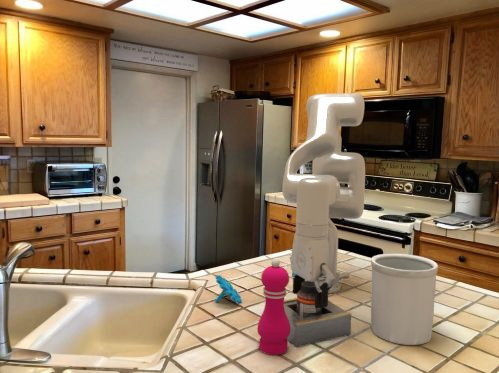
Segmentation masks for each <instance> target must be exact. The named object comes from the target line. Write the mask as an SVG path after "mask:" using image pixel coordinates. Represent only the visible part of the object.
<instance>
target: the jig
mask: <svg viewBox="0 0 499 373" xmlns="http://www.w3.org/2000/svg"><path fill="white" fill-rule="evenodd" d="M284 310H285V313H286V315H287V318H288V320H289V323H290V335H289V336H288V337H287V338H286V339H287V340H288V342H289V343H291V344H292V345H293V346H294V347H295V348H298V347H302V346H307V345H310V344H311V345H312V344H315V343H319V342H324V341H329V340H332V339H337V338H341V337H346V336H350V335H351V334H352V332H351V329H352V312H351V311H347V310H345V309H344V308H341V306H338V305H337V304H335V303H333V302H331V300H328V306H327V307H324V308H321V315H318V316H313V317H308V318H303V317H302V316H300V315H299V314H297V297H294V298H289V299H284Z"/></svg>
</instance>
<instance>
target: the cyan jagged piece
mask: <svg viewBox="0 0 499 373" xmlns="http://www.w3.org/2000/svg"><path fill="white" fill-rule="evenodd" d="M214 278H215V279H216V280H215V282H216V283H217V284H219V286H218V287H219V288H220V289H221V290H222V291H221V292H219V294H218V296H217V297H216V298H215V299H214V302H216V303H219V302H220V301H221V300H222V299H223V298H224V297H225V296H230V300H232V301H233V302H235V303H236V304H241V303H242V302H243V300H242V296H241V295H240V294H239V292H238V290H237V289H235V288H234V287H233V284H232V283H231V281H228V280H227V279H226V278H225V277H222V276H221V275H220V274H219V275H216V276H214Z"/></svg>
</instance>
